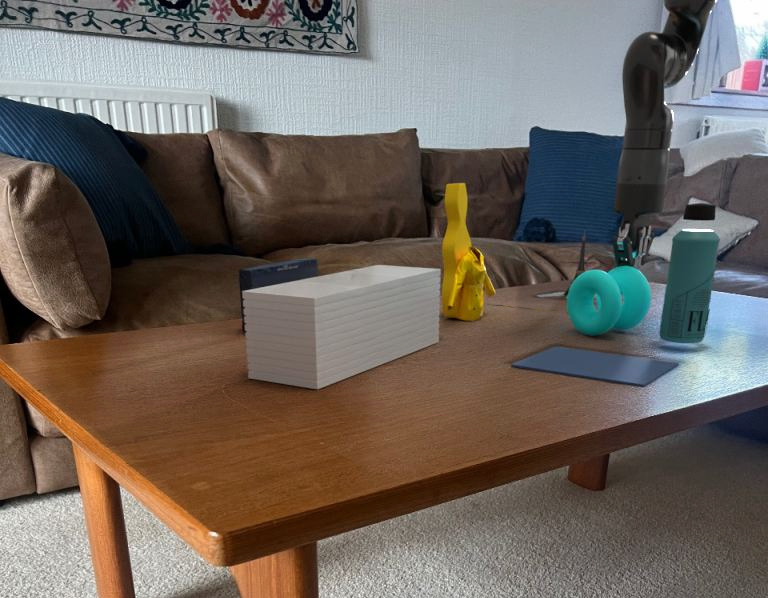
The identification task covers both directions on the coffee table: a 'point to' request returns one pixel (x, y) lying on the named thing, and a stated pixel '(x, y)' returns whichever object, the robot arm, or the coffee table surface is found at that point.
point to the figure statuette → (462, 262)
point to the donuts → (608, 300)
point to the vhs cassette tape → (275, 276)
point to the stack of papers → (339, 323)
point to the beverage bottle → (690, 279)
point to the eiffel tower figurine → (578, 272)
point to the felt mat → (597, 366)
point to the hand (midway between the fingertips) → (626, 293)
